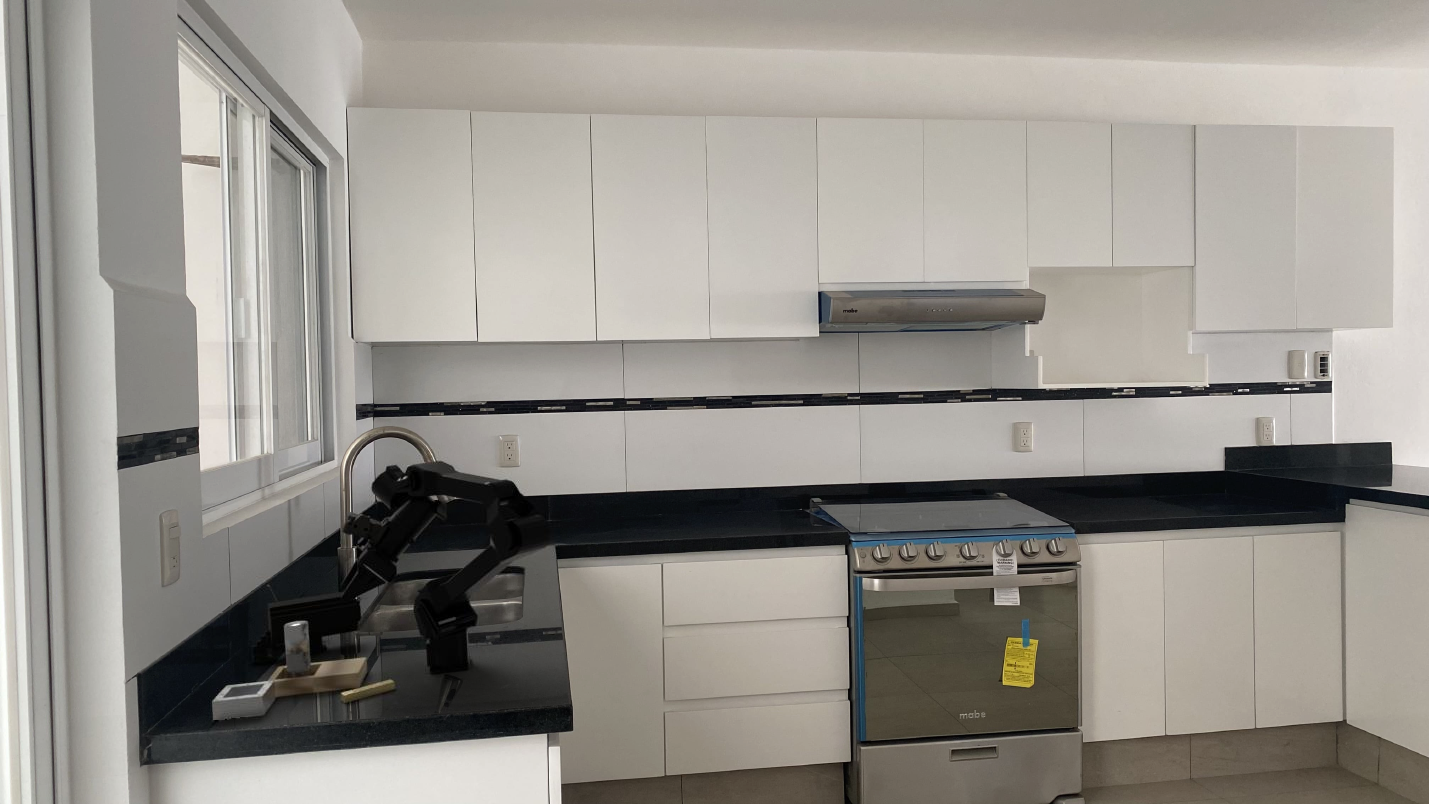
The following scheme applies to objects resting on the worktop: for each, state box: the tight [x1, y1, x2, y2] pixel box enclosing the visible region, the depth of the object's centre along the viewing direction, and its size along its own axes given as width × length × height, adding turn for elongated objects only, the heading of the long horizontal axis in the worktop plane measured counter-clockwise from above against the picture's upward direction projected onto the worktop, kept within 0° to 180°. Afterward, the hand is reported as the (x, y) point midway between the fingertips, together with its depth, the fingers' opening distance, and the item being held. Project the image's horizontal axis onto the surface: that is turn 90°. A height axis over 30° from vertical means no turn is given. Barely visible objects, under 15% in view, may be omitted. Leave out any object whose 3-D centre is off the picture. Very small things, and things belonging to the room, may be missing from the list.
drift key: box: [340, 679, 396, 704], centre depth 144 cm, size 8×2×1 cm, turn 132°
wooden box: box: [267, 657, 368, 698], centre depth 150 cm, size 14×8×2 cm, turn 102°
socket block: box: [211, 680, 277, 722], centre depth 140 cm, size 7×7×3 cm
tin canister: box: [284, 621, 312, 678], centre depth 149 cm, size 4×4×10 cm
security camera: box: [251, 591, 362, 665], centre depth 167 cm, size 7×18×10 cm, turn 121°
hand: (342, 594), depth 155 cm, fingers open, 9 cm apart
